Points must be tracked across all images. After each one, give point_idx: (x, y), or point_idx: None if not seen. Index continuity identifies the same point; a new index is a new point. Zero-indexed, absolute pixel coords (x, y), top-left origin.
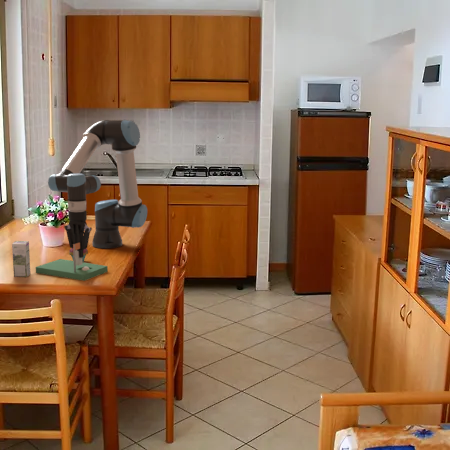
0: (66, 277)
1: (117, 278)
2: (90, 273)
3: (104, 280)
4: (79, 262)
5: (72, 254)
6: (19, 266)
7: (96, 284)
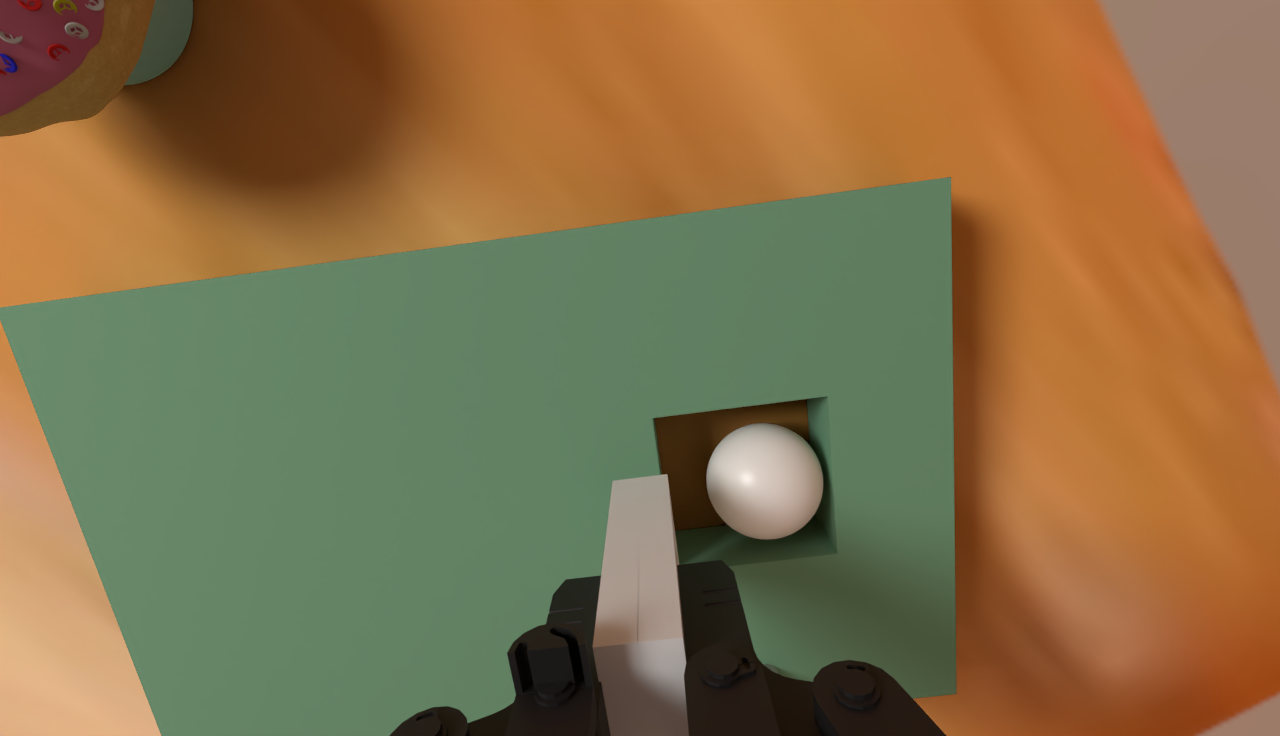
0: None
1: (1223, 353)
2: (949, 575)
3: (1120, 506)
4: (678, 562)
5: (15, 133)
6: None
7: (1127, 659)
